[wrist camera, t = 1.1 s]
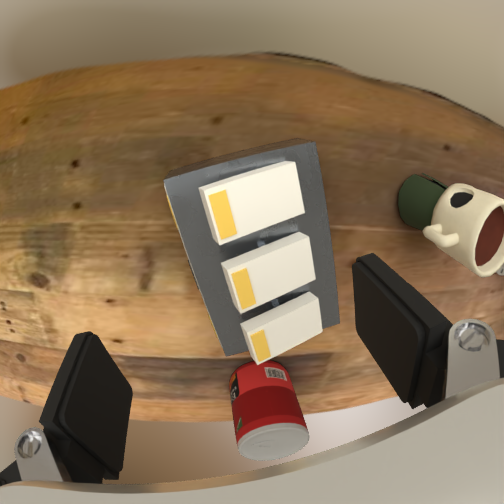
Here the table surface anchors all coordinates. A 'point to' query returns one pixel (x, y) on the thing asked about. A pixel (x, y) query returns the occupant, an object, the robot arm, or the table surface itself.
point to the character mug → (457, 221)
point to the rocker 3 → (282, 327)
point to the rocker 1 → (252, 201)
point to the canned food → (266, 412)
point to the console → (252, 234)
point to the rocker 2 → (269, 271)
